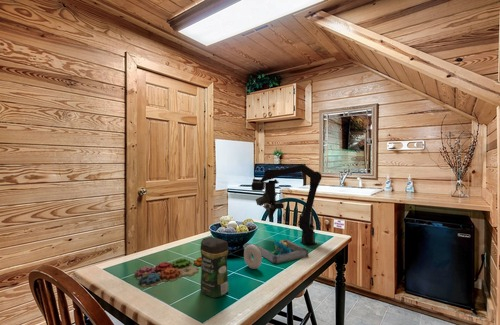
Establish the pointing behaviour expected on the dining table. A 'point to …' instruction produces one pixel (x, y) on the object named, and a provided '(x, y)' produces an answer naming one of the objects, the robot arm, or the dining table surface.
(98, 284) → the dining table surface
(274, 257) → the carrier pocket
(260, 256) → the donut
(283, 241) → the gold rounded dome
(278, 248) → the gear
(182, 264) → the gear puzzle
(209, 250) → the coffee jar
